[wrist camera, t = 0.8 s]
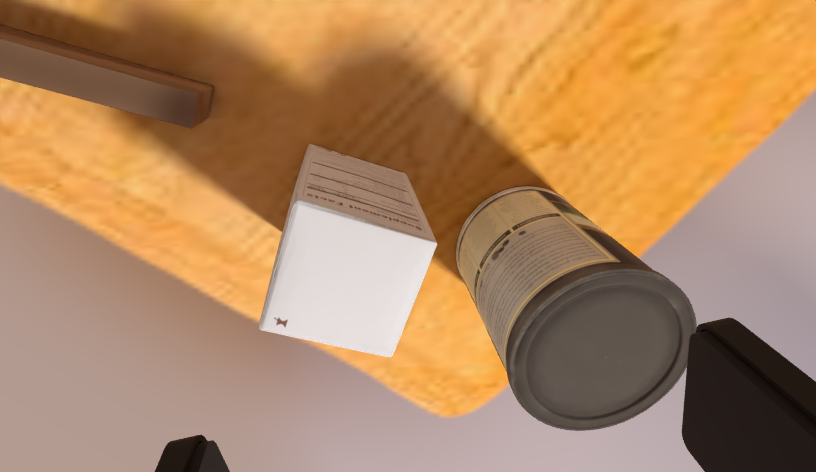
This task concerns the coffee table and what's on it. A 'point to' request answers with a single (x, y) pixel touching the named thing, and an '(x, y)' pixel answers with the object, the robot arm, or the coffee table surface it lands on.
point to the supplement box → (348, 255)
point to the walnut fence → (102, 79)
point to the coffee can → (572, 311)
